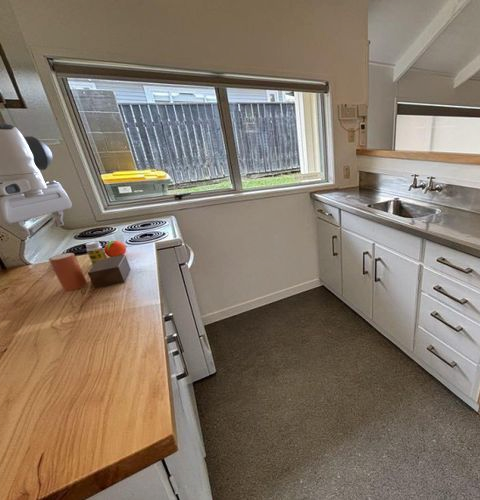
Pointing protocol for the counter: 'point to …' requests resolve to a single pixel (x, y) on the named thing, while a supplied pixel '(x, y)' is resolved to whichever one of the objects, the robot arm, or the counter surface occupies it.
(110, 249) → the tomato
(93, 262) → the supplement bottle
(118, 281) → the walnut block
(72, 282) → the cup
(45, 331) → the counter surface
